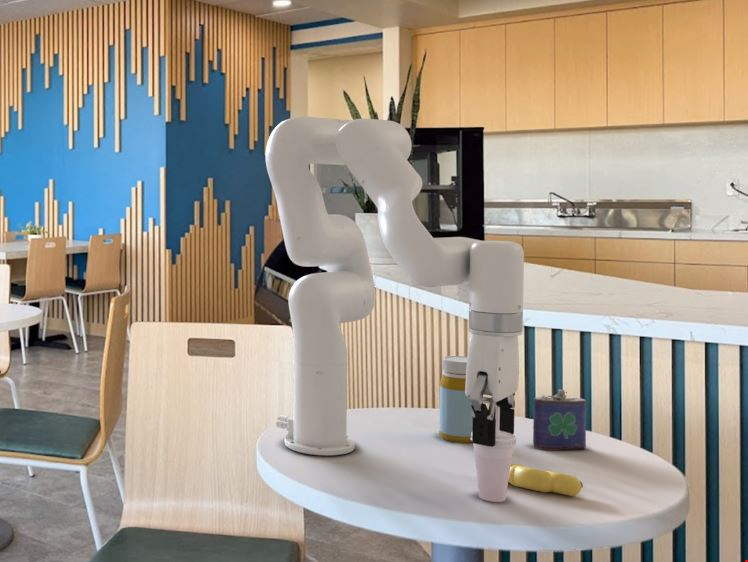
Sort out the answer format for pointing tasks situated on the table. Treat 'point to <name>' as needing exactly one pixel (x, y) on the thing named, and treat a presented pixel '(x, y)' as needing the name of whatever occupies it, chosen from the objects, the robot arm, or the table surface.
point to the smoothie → (494, 465)
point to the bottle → (455, 401)
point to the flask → (559, 422)
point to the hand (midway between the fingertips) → (493, 438)
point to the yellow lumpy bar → (544, 480)
